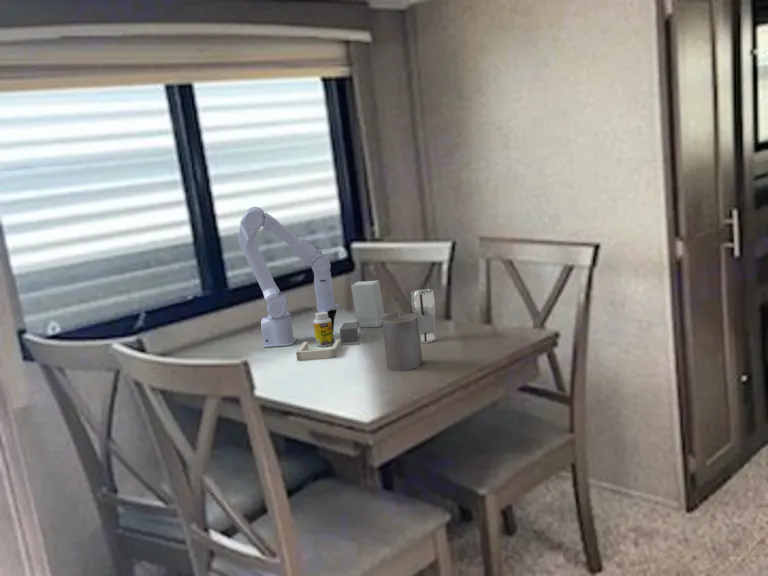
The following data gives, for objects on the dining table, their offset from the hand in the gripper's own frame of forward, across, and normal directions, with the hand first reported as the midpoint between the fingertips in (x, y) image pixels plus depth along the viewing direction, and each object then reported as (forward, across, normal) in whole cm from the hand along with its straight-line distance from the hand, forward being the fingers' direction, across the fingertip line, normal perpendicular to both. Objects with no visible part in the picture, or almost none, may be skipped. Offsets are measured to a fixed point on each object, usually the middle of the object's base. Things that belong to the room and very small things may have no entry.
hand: (329, 333), depth 249 cm
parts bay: (+1, -18, 0) cm, 18 cm away
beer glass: (+1, -13, -32) cm, 35 cm away
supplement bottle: (+1, -9, 0) cm, 9 cm away
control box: (+1, -7, -8) cm, 11 cm away
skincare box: (+1, +11, -12) cm, 16 cm away
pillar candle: (+1, -37, -27) cm, 46 cm away
